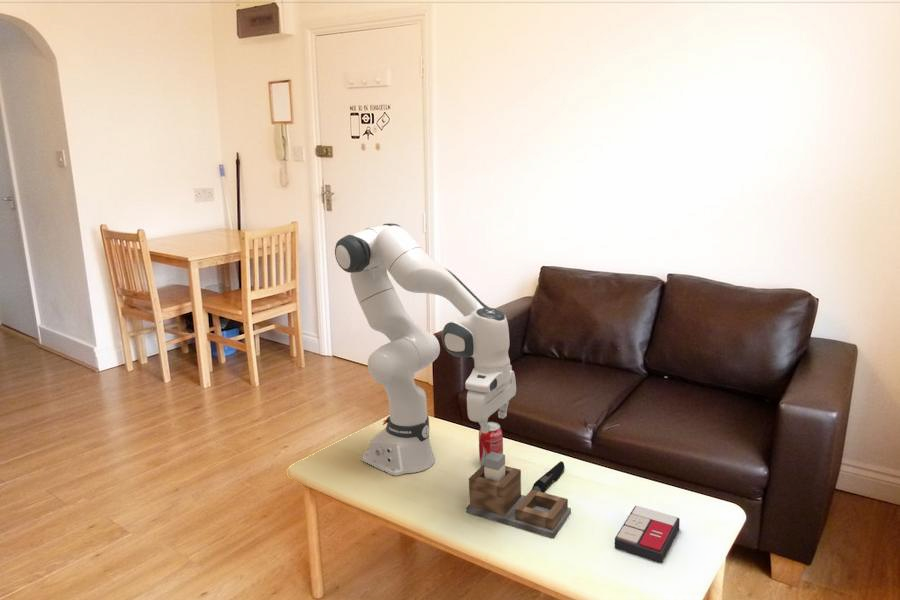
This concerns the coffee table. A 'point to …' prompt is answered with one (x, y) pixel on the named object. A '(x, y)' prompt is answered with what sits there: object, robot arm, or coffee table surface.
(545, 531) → the twin wooden frame tray
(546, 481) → the electric trimmer
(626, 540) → the calculator
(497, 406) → the robot arm
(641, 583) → the coffee table surface
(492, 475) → the plug
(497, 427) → the soda can
